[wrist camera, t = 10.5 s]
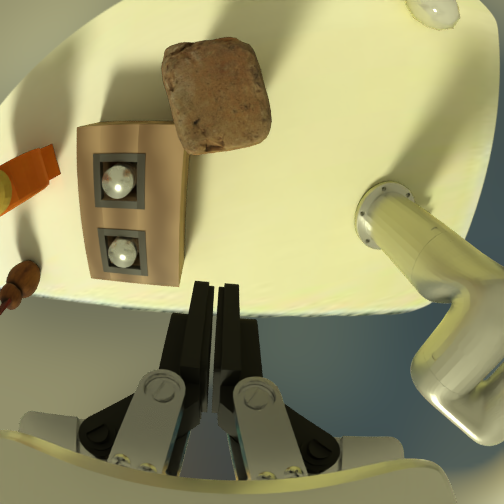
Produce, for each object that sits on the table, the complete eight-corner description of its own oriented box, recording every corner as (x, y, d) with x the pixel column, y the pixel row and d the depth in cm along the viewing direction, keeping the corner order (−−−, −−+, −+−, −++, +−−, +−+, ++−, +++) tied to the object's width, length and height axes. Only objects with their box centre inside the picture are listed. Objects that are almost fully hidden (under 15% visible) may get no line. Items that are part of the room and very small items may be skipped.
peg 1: (147, 155, 34) (131, 167, 28) (146, 183, 36) (131, 199, 30) (121, 155, 34) (101, 166, 28) (120, 182, 35) (102, 198, 29)
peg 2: (146, 221, 39) (133, 243, 33) (147, 244, 41) (136, 268, 35) (122, 219, 38) (106, 241, 32) (124, 242, 40) (109, 266, 34)
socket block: (192, 122, 33) (185, 125, 27) (184, 260, 44) (178, 287, 38) (99, 122, 31) (76, 127, 25) (105, 254, 42) (90, 278, 36)
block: (253, 127, 34) (284, 148, 17) (200, 139, 35) (175, 172, 17) (238, 54, 29) (254, 3, 12) (183, 67, 29) (141, 29, 12)
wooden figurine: (39, 256, 40) (-1, 305, 27) (48, 280, 43) (14, 331, 30) (17, 256, 39) (-21, 301, 27) (26, 279, 42) (-7, 326, 30)
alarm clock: (19, 197, 34) (-52, 255, 17) (9, 167, 31) (-68, 214, 14) (69, 174, 34) (-13, 231, 17) (59, 138, 31) (-32, 177, 14)
